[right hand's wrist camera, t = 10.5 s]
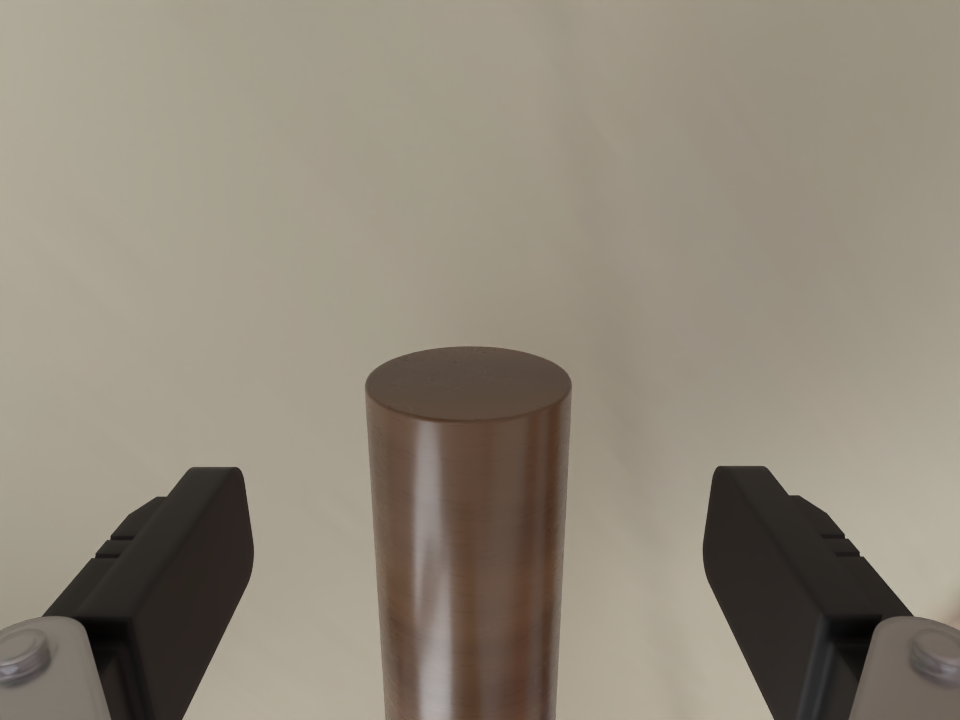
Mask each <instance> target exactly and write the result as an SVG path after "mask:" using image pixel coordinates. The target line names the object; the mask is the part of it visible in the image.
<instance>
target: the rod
mask: <svg viewBox="0 0 960 720" xmlns="http://www.w3.org/2000/svg"><path fill="white" fill-rule="evenodd" d="M365 396H366V412H367V428H368V444H369V460H370V477H371V493H372V509H373V525H374V541H375V557H376V573H377V589H378V605H379V621H380V637H381V653H382V669H383V685H384V701H385V717H386V720H555V718H556V698H557V678H558V658H559V638H560V618H561V598H562V578H563V558H564V537H565V517H566V497H567V477H568V457H569V437H570V417H571V397H572V383H571V379H570V377H569V375H568V374H567V373H566V372H565V370H564V369H562V368H561V367H560V366H558V365H557V364H555V363H553V362H551V361H549V360H547V359H544V358H542V357H539V356H536V355H532V354H529V353H525V352H520V351H515V350H509V349H503V348H493V347H447V348H437V349H431V350H424V351H419V352H415V353H411V354H407V355H404V356H401V357H398V358H395V359H392V360H390V361H388V362H386V363H384V364H382V365H380V366H379V367H377V368H376V369H375V370H374V371H373V372H372V373H371V374H370V375H369V376H368V378H367V380H366V384H365Z"/></svg>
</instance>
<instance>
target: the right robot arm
mask: <svg viewBox="0 0 960 720" xmlns="http://www.w3.org/2000/svg"><path fill="white" fill-rule="evenodd" d="M253 559H254V545H253V538H252V531H251V524H250V517H249V510H248V503H247V496H246V489H245V483H244V477H243V474H242V472H241V470H240V469H239V468H237V467H192V468H190V469H189V470H188V471H187V472H186V473H185V475H184V476H183V477H182V478H181V480H180V481H179V482H178V483H177V485H176V486H175V487H174V488H173V490H172V491H171V492H170V493H169V495H168V496H167V497H156V498H154V499H153V500H151V501H149V502H148V503H146V504H145V505H143V506H142V507H140V508H139V509H137V510H136V511H134V512H132V513H131V514H129V515H128V516H127V518H126V519H125V520H124V521H123V522H122V523H121V525H120V526H119V527H118V528H117V529H116V530H115V532H114V533H113V534H112V535H111V539H110V540H107V541H106V542H105V543H104V544H103V546H102V547H101V548H100V549H99V550H98V551H97V553H96V556H95V558H91V560H90V561H89V562H88V563H87V564H86V565H85V567H84V568H83V569H82V570H81V571H80V572H79V574H78V575H77V576H76V577H75V578H74V580H73V581H72V582H71V583H70V584H69V585H68V587H67V588H66V589H65V590H64V591H63V592H62V594H61V595H60V596H59V597H58V598H57V599H56V601H55V602H54V603H53V604H52V605H51V606H50V608H49V609H48V610H47V611H46V612H45V613H44V615H43V616H42V617H39V618H34V619H30V620H26V621H23V622H20V623H17V624H14V625H12V626H9V627H7V628H4V629H2V630H0V720H182V719H183V717H184V715H185V713H186V711H187V709H188V706H189V704H190V702H191V700H192V698H193V696H194V694H195V692H196V690H197V688H198V686H199V684H200V682H201V680H202V678H203V675H204V673H205V671H206V669H207V667H208V665H209V663H210V661H211V659H212V657H213V655H214V653H215V651H216V649H217V647H218V644H219V642H220V640H221V638H222V636H223V634H224V632H225V630H226V628H227V626H228V624H229V622H230V620H231V618H232V616H233V613H234V611H235V609H236V607H237V605H238V603H239V601H240V599H241V597H242V595H243V593H244V591H245V589H246V587H247V585H248V582H249V579H250V576H251V572H252V567H253ZM703 562H704V568H705V573H706V576H707V579H708V582H709V584H710V586H711V588H712V590H713V593H714V595H715V597H716V599H717V601H718V603H719V605H720V607H721V609H722V611H723V613H724V616H725V618H726V620H727V622H728V624H729V626H730V628H731V630H732V632H733V634H734V636H735V639H736V641H737V643H738V645H739V647H740V649H741V651H742V653H743V655H744V657H745V659H746V662H747V664H748V666H749V668H750V670H751V672H752V674H753V676H754V678H755V680H756V682H757V685H758V687H759V689H760V691H761V693H762V695H763V697H764V699H765V701H766V703H767V706H768V708H769V710H770V712H771V714H772V716H773V718H774V720H960V630H958V629H956V628H953V627H951V626H948V625H946V624H943V623H940V622H937V621H934V620H930V619H926V618H921V617H914V616H913V615H912V613H911V612H910V611H909V610H908V609H907V607H906V606H905V605H904V604H903V603H902V602H901V600H900V599H899V598H898V597H897V596H896V594H895V593H894V592H893V591H892V590H891V589H890V587H889V586H888V585H887V584H886V583H885V581H884V580H883V579H882V578H881V577H880V576H879V574H878V573H877V572H876V571H875V570H874V568H873V567H872V566H871V565H870V564H869V563H868V561H867V560H866V559H865V558H864V557H860V552H859V551H858V550H857V548H856V547H855V546H854V545H853V544H852V543H851V541H850V540H849V539H845V534H844V533H843V532H842V531H841V530H840V528H839V527H838V526H837V525H836V524H835V522H834V521H833V520H832V519H831V518H830V517H829V515H828V514H827V513H825V512H824V511H822V510H821V509H819V508H818V507H816V506H815V505H813V504H811V503H810V502H808V501H807V500H805V499H804V498H802V497H801V496H799V495H788V494H787V492H786V491H785V490H784V489H783V487H782V486H781V485H780V484H779V482H778V481H777V480H776V478H775V477H774V476H773V475H772V473H771V472H770V471H769V470H768V469H767V468H766V467H764V466H718V467H717V468H716V470H715V472H714V474H713V478H712V484H711V491H710V498H709V505H708V512H707V519H706V526H705V533H704V540H703Z"/></svg>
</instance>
